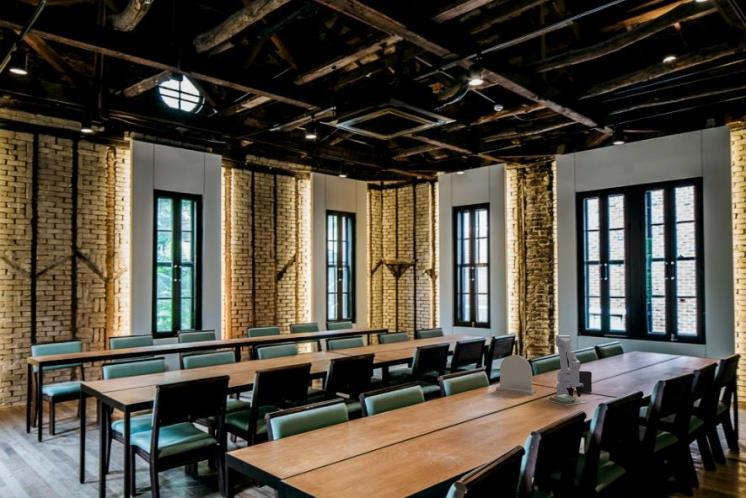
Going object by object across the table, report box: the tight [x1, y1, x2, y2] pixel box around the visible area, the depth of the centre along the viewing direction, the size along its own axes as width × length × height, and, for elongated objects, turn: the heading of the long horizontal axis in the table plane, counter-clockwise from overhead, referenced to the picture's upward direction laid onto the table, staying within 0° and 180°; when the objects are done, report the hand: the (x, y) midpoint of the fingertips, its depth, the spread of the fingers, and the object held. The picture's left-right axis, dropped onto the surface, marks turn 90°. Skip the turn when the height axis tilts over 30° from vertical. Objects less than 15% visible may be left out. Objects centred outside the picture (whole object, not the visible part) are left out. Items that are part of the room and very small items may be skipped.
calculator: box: [575, 370, 593, 393], centre depth 396 cm, size 11×4×15 cm, turn 84°
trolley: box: [554, 394, 577, 402], centre depth 359 cm, size 10×10×4 cm
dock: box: [547, 396, 588, 407], centre depth 360 cm, size 16×20×3 cm
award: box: [495, 354, 537, 396], centre depth 392 cm, size 28×9×28 cm, turn 54°
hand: (575, 397), depth 364 cm, fingers open, 7 cm apart
